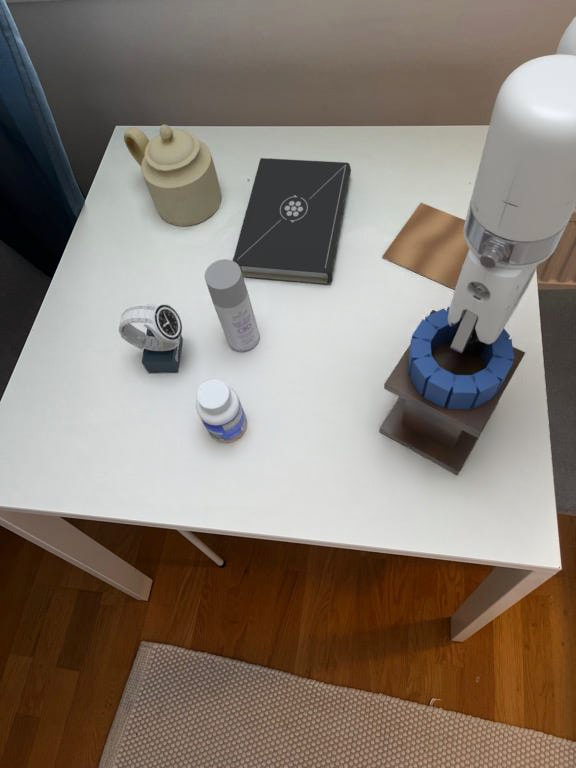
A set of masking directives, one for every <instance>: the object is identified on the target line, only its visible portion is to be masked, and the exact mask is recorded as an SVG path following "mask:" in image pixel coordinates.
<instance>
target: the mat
mask: <svg viewBox="0 0 576 768" xmlns="http://www.w3.org/2000/svg"><path fill="white" fill-rule="evenodd" d="M415 208H416V209H415V210H414V211H413V212H412V214H411V216H409V218H408V220H407V221H406V222H405V224H404V225H403V226H402V228H401V229H400V231H399V232H398V233H397V235H396V237H395V238H394V239H393V240H392V242H391V243H390V245H389V246H388V247H387V249H386V250H385V251H384V253H383V255H382V257H381V258H382V259H384V260H386V261H387V262H391V263H393V264H395V265H398V266H400V267H402V268H404V269H406V270H409V271H411V272H413V273H415V274H418V275H420V276H422V277H425V278H427V279H429V280H431V281H433V282H436V283H438V284H440V285H443V286H445V287H447V288H449V289H452V290H454V291H455V288H456V285H457V282H458V279H459V276H460V273H461V270H462V265H463V264H464V262H465V259H466V256H467V253H468V250H469V247H468V245H467V243H466V241H465V238H464V224H465V220H466V219H463V218H461V217H459V216H456V215H453V214H451V213H449V212H446V211H443V210H442V209H438V208H436V207H433V206H431V205H428V204H426V203H424V202H420V203H419V204H418V206H417V207H415Z"/></svg>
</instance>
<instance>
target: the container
mask: <svg viewBox="0 0 576 768" xmlns="http://www.w3.org/2000/svg"><path fill="white" fill-rule="evenodd" d="M244 278H245V277H243V275H242V272H241V269H240V267H239V265H238V264H237V263H236V262H234V261H233V259H232V260H231V259H219V260H215V261H214V262H212V263H211V264H209V265H208V267H207V268H206V269H205V272H204V280H205V283H206V287H207V289H208V292H209V295H210V299H211V301H212V304H213V307H214V309H215V312H216V315H217V318H218V320H219V323H220V325H221V328H222V331H223V333H224V336H225V338H226V341H227V343H228V347H230V348H231V349H232V350H233V351H235V352H239V353H246V352H250V351H252V350H253V349H255V348H256V347H257V346H258V344H259V343H260V339H261V335H260V330H259V326H258V323H257V321H256V317H255V313H254V308H253V305H252V301H251V298H250V294H249V291H248V287H247V285H246V282H245V279H244Z"/></svg>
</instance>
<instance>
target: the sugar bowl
mask: <svg viewBox="0 0 576 768" xmlns="http://www.w3.org/2000/svg"><path fill="white" fill-rule="evenodd" d="M123 141H124V144H125V146H126V148H127V150H128V152H129V154H130V155H131V156H132V158H133V159H134V160H135V161H136V163H137V164H138V165H139V166H140V172H141V175H142V177H143V180H144V182H145V185H146V188H147V190H148V192H149V195H150V197H151V199H152V202H153V203H154V206H155V208H156V210H157V212H158V214H159V216H160V217H161V218H162V220H164V221H165V222H167V223H169V224H170V225H174V226H178V227H190V226H196V225H198V224H201V223H203V222H205V221H207V220H208V219H210V217H212V216H213V215H215V214H216V212H217V211H218V210H219V208H220V206H221V203H222V191H221V186H220V182H219V178H218V174H217V169H216V166H215V163H214V159H213V155H212V152H211V150H210V148H209V147H208V145H207V144H206V143H205V142H203V141H202V140H201V139H198V137H197V136H196V135H195V134H194V133H192V132H190V131H187V130H183V129H172V128H171V127H170V126H169V125H167V124H161V126H160V127H159V134H157V135H156V136H155V137H153V138H151V140H150V139H149V138H148V136H147V135H146V134H145V132H143V131H142V130H141V129H140V128H138V127H136V126H131V127H128V128H127V129H126V130H125V132H124V134H123Z"/></svg>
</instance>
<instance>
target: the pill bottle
mask: <svg viewBox="0 0 576 768" xmlns="http://www.w3.org/2000/svg"><path fill="white" fill-rule="evenodd" d="M195 410H196V413H197V415H198V417H199V419H200V420H201V422H202V424H203V425H204V427H205V429H206V431H207V432H208V434H209V435H210V437H211V438H212V439H214V440H215V441H216V442H220V443H232V442H234V441H236V440H238V439H240V438H241V437H242V436H243V435H244V434H245V431H246V430H247V427H248V426H247V425H248V419H247V416H246V414H245V411H244V408H243V405H242V402H241V400H240V398H239V395H238V393H237V391H236V390H235V389H234V388H233V387H231V386H230V385H228V384H227V383H226V382H225V381H223V380H221V379H219V378H211V379H208V380H205V381H204V382H203V383H201V384H200V385H199V387H198V388H197V391H196V401H195Z"/></svg>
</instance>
